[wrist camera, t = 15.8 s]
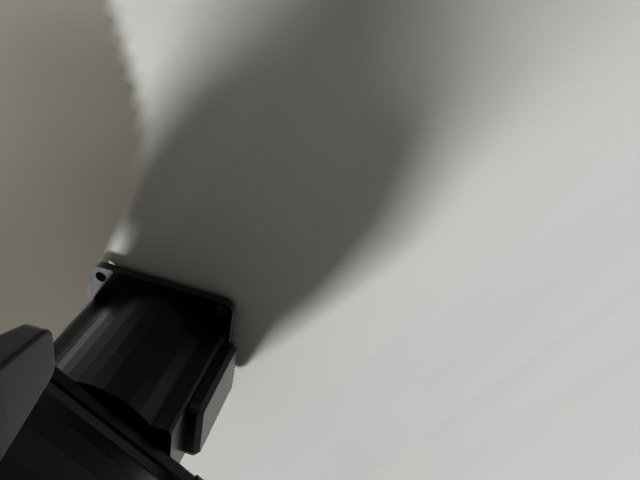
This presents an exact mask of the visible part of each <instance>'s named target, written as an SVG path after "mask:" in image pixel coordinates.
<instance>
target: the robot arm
mask: <svg viewBox="0 0 640 480" xmlns="http://www.w3.org/2000/svg"><path fill="white" fill-rule="evenodd" d="M101 272H102V273H104V274H105V275H106V276H104V275H103V274H102V273H101ZM90 277H91V301H90V302H89V303H88V304H87V305H86V306H85V307H84V308H83V309H82V310H81V311H80V313H79V314H78V315H77V316H76V317H75V318H74V319H73V320H72V321H71V322H70V323H69V325H68V326H67V327H66V328H65V329H64V330H63V331H62V332H61V333H60V334H59V335H58V337H57V338H56V339H55V340H54V341H53V338H52V333H51V332H50V330H48V329H46V328H42V327H39V326H36V325H33V324H24V325H21V326H18V327H16V328H14V329H11V330H9V331H7V332H5V333H2V334H0V480H203V479H202V478H201V477H199V476H198V475H196V476H194V475H193V474H192V473H190V472H189V471H188V470H187V469H185V468H184V467H183V466H182V465H180V464H179V463H180V461H181V459H182V457H183V455H184V453H187V454H190V455H195V454H197V453H199V452H200V451H201V449H202V447H203V445H204V443H205V441H206V439H207V437H208V435H209V433H210V430H211V428H212V426H213V424H214V422H215V420H216V418H217V416H218V414H219V412H220V410H221V408H222V406H223V404H224V402H225V399H226V397H227V395H228V393H229V391H230V389H231V387H232V382H233V375H234V368H235V361H236V354H237V348H236V346H235V344H234V343H231V338H232V331H233V323H234V316H235V305H234V303H233V302H232V301H231V300H230V299H228V298H226V297H222V296H219V295H215V294H212V293H209V292H205V291H202V290H198V289H195V288H191V287H188V286H184V285H181V284H178V283H174V282H171V281H167V280H164V279H160V278H157V277H153V276H150V275H147V274H143V273H140V272H136V271H133V270H129V269H126V268H122V267H119V266H116V265H112V264H109V263H105V262H100V263H98V264H97V265H96V266H95V267H94V268H93V269H92V270H91V273H90ZM219 307H222V308H224V309H225V310H226V311H223V310H221V309H220V308H219Z"/></svg>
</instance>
